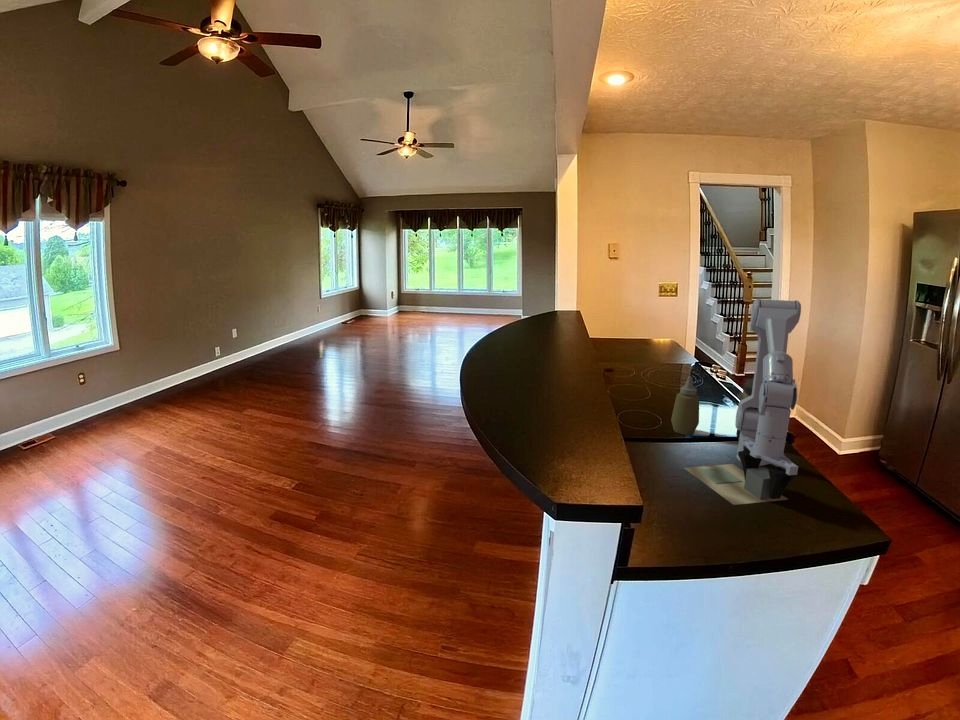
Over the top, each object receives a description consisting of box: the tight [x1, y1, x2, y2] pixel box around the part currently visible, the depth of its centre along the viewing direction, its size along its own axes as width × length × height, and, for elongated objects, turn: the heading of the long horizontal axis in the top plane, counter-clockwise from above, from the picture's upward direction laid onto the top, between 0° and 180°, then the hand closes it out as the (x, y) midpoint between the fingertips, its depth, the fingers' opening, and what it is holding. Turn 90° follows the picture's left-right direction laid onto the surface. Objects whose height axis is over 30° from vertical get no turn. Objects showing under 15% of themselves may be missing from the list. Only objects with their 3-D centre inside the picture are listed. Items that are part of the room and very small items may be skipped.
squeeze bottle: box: [670, 375, 700, 436], centre depth 146 cm, size 8×8×18 cm
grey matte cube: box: [744, 467, 770, 499], centre depth 108 cm, size 5×5×5 cm
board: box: [684, 463, 789, 506], centre depth 113 cm, size 14×18×6 cm
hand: (761, 489), depth 108 cm, fingers open, 7 cm apart
